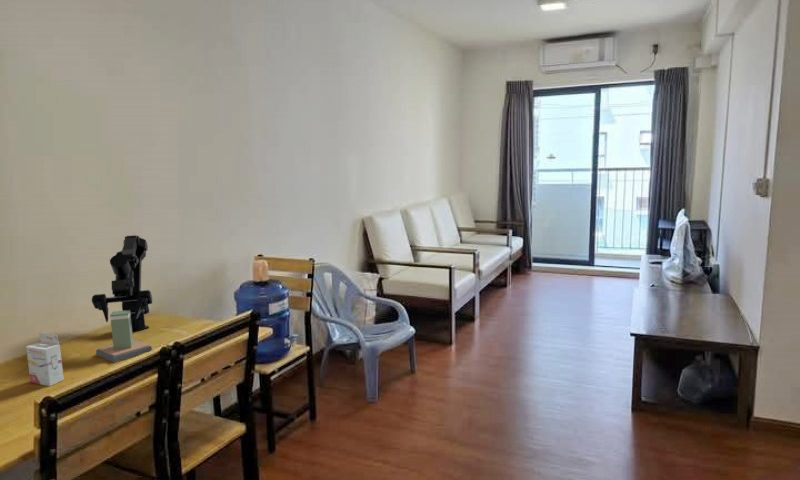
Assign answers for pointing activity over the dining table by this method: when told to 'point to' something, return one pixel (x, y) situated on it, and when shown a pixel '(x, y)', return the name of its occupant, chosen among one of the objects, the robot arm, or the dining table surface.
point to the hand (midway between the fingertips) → (121, 320)
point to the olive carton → (121, 329)
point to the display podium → (123, 351)
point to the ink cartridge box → (45, 361)
